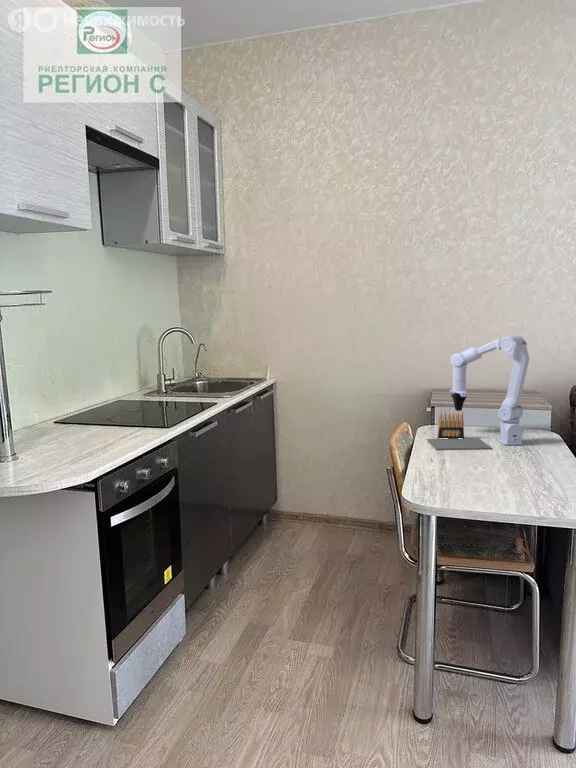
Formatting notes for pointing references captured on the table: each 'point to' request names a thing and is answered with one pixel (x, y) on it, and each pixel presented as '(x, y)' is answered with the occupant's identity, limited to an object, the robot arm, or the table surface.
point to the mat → (458, 444)
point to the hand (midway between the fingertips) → (458, 410)
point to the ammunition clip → (451, 426)
